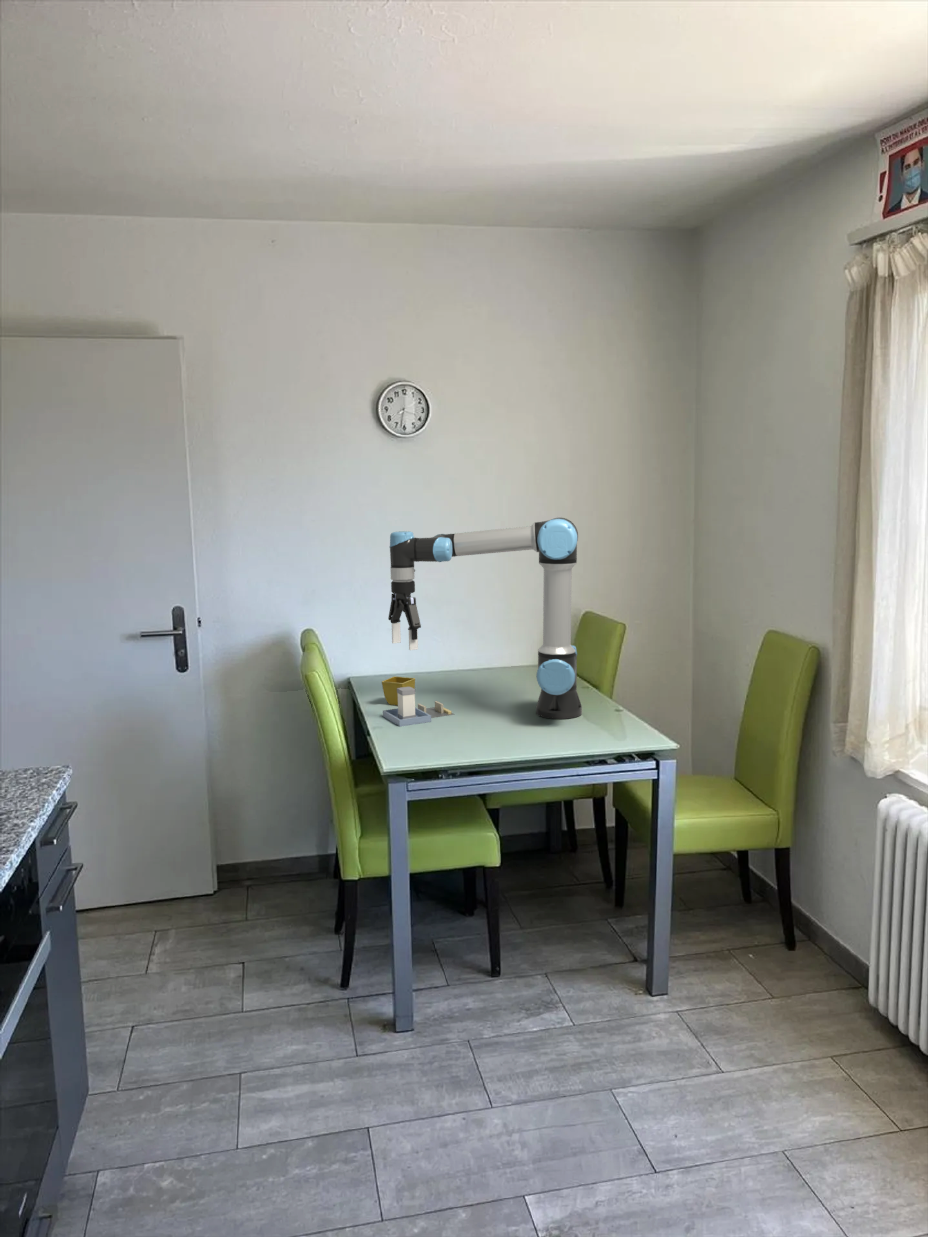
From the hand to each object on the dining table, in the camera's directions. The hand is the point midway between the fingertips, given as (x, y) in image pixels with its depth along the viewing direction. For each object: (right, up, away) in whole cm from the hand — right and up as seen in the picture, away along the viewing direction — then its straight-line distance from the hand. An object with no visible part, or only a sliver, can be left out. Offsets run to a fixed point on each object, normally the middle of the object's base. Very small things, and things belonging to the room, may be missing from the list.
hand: (404, 646), depth 292 cm
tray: (0, -24, +4) cm, 25 cm away
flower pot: (-3, -21, +24) cm, 32 cm away
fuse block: (+9, -23, +11) cm, 27 cm away
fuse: (0, -24, +4) cm, 24 cm away
